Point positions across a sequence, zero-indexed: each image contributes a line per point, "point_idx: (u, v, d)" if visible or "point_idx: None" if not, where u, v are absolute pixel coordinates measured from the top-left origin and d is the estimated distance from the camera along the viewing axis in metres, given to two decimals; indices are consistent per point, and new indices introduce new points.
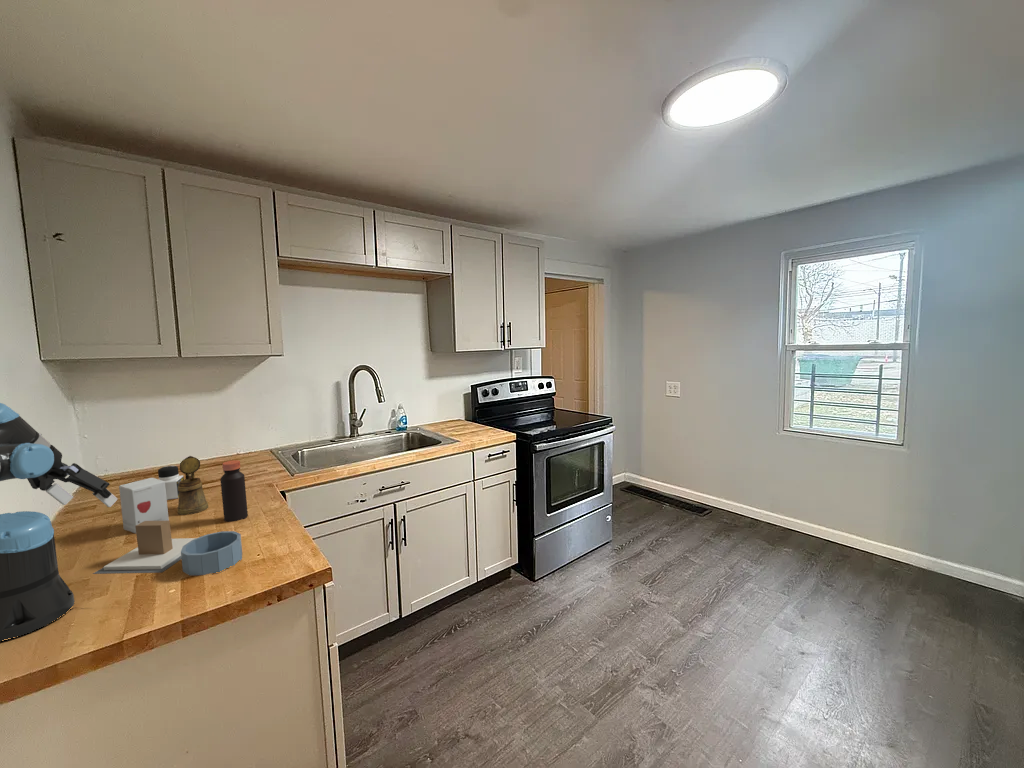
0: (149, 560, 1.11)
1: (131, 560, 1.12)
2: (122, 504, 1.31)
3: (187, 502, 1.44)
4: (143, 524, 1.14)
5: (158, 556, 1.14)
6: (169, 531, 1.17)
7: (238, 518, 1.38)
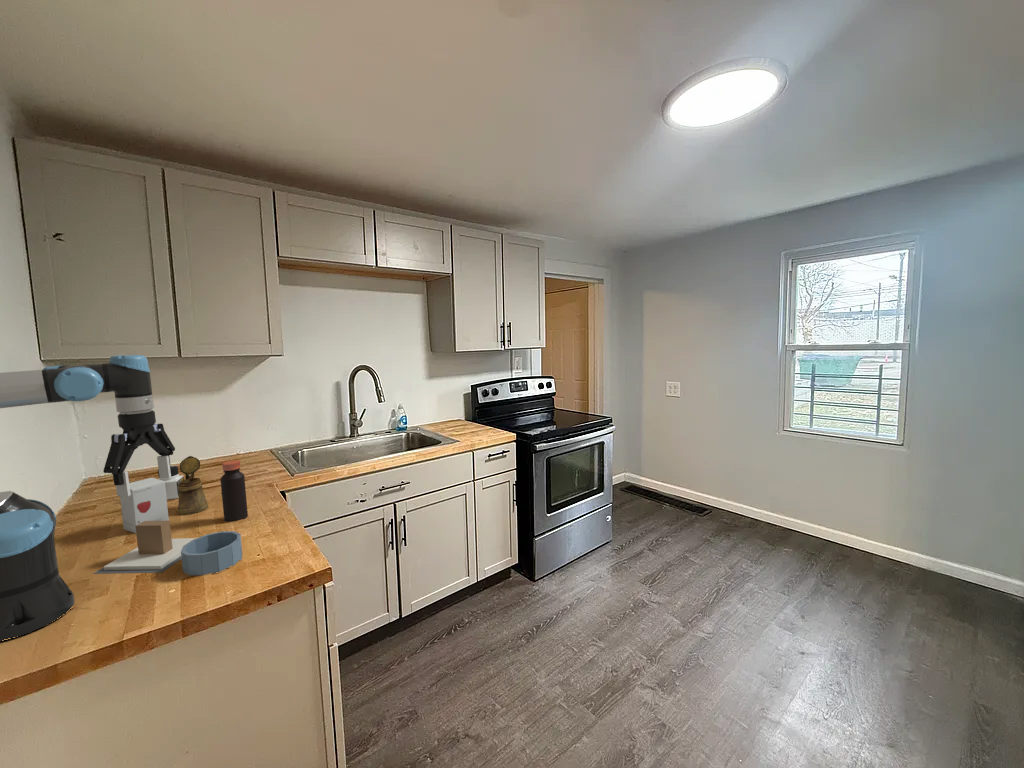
0: (149, 560, 1.11)
1: (131, 560, 1.12)
2: (122, 504, 1.31)
3: (187, 502, 1.44)
4: (143, 524, 1.14)
5: (158, 556, 1.14)
6: (169, 531, 1.17)
7: (238, 518, 1.38)
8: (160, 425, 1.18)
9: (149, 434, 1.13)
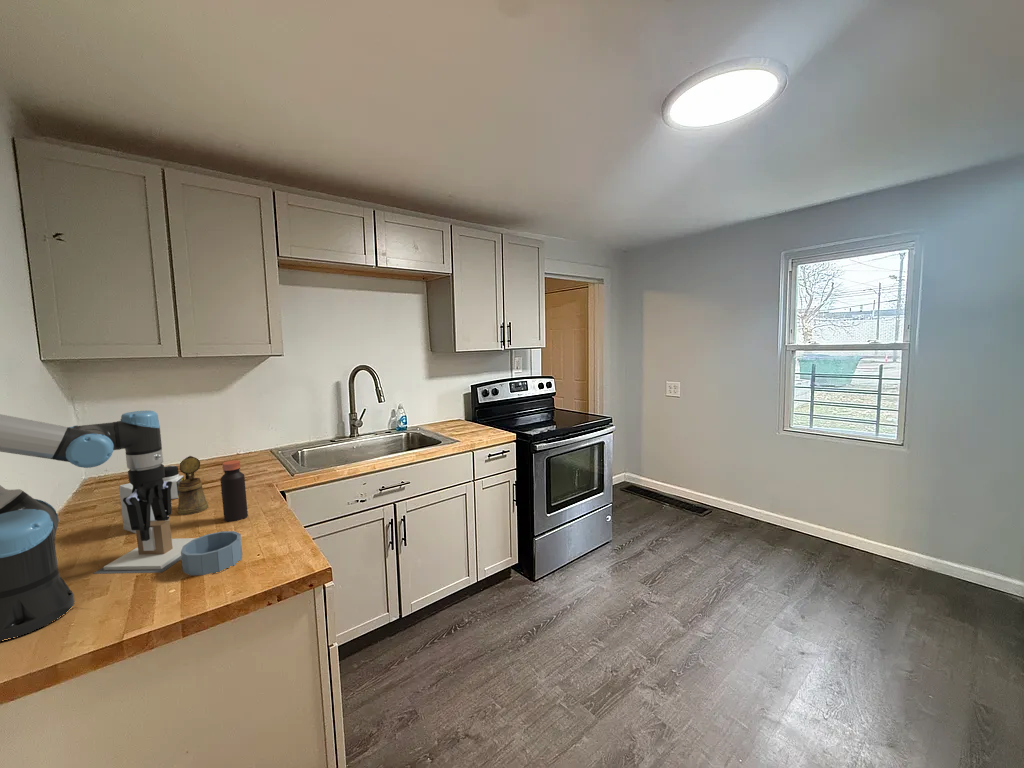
0: (149, 560, 1.11)
1: (131, 560, 1.12)
2: (122, 504, 1.31)
3: (187, 502, 1.44)
4: None
5: (158, 556, 1.14)
6: (169, 531, 1.17)
7: (238, 518, 1.38)
8: (169, 482, 1.20)
9: (158, 487, 1.15)
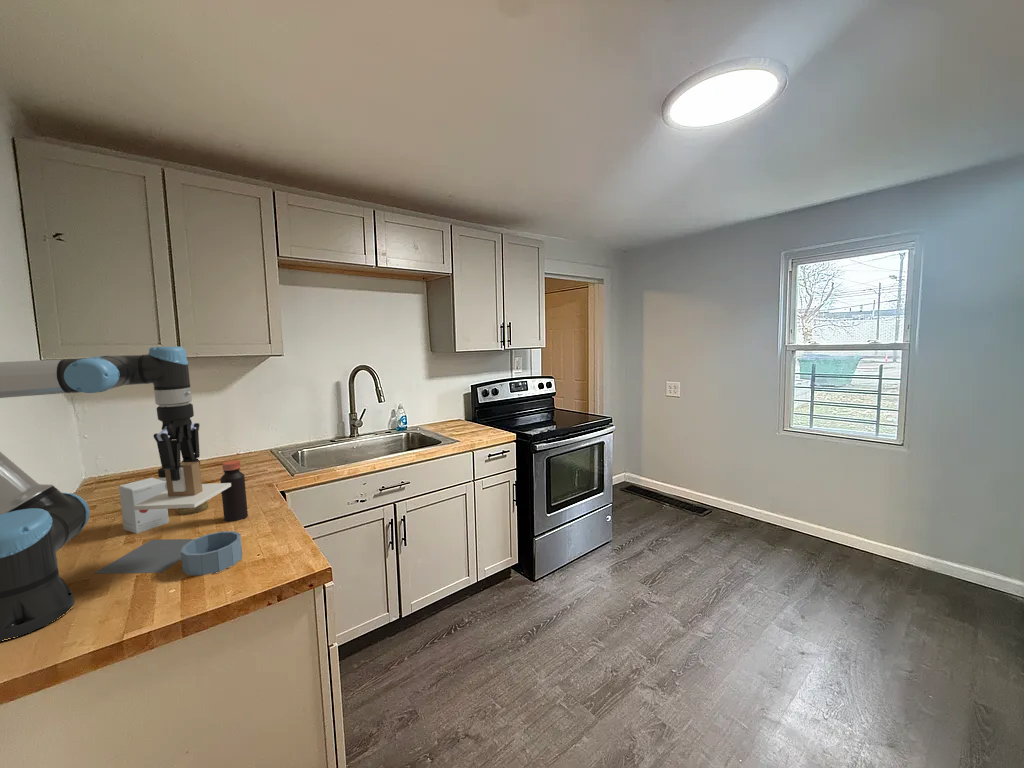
0: (181, 500, 1.08)
1: (161, 500, 1.08)
2: (122, 504, 1.31)
3: None
4: None
5: (189, 497, 1.10)
6: (199, 473, 1.13)
7: (238, 518, 1.38)
8: (197, 424, 1.16)
9: (187, 427, 1.11)
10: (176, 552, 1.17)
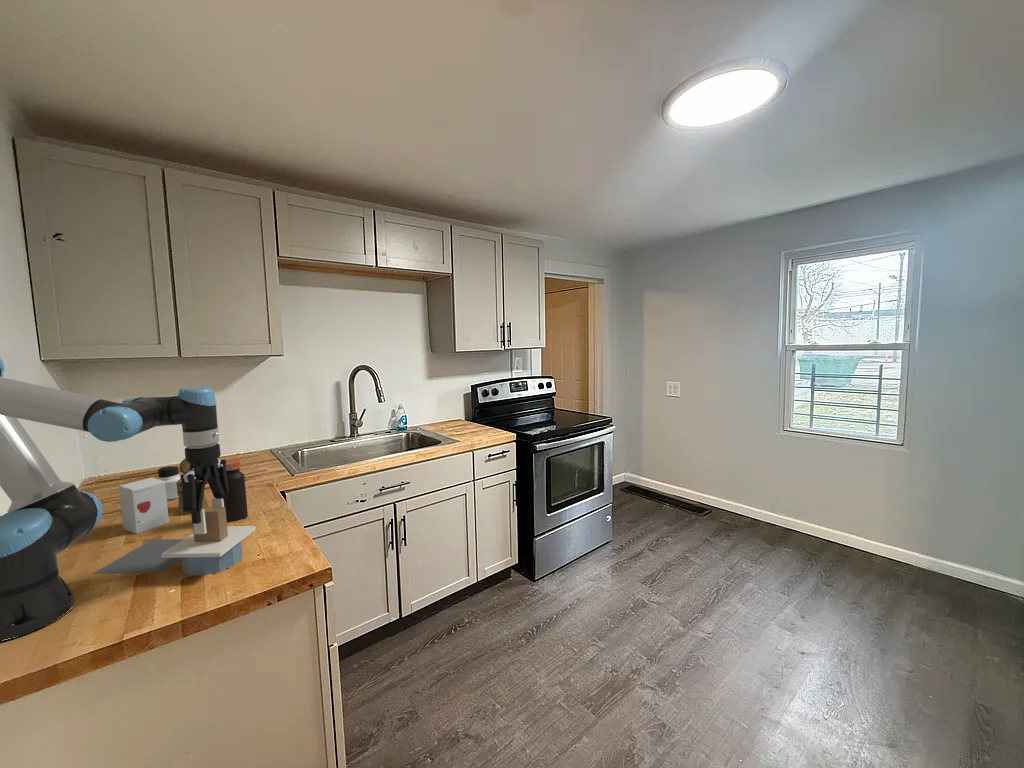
0: (207, 547, 1.07)
1: (188, 547, 1.07)
2: (122, 504, 1.31)
3: None
4: None
5: (215, 543, 1.09)
6: (225, 518, 1.12)
7: (238, 518, 1.38)
8: (223, 461, 1.15)
9: (214, 467, 1.10)
10: None
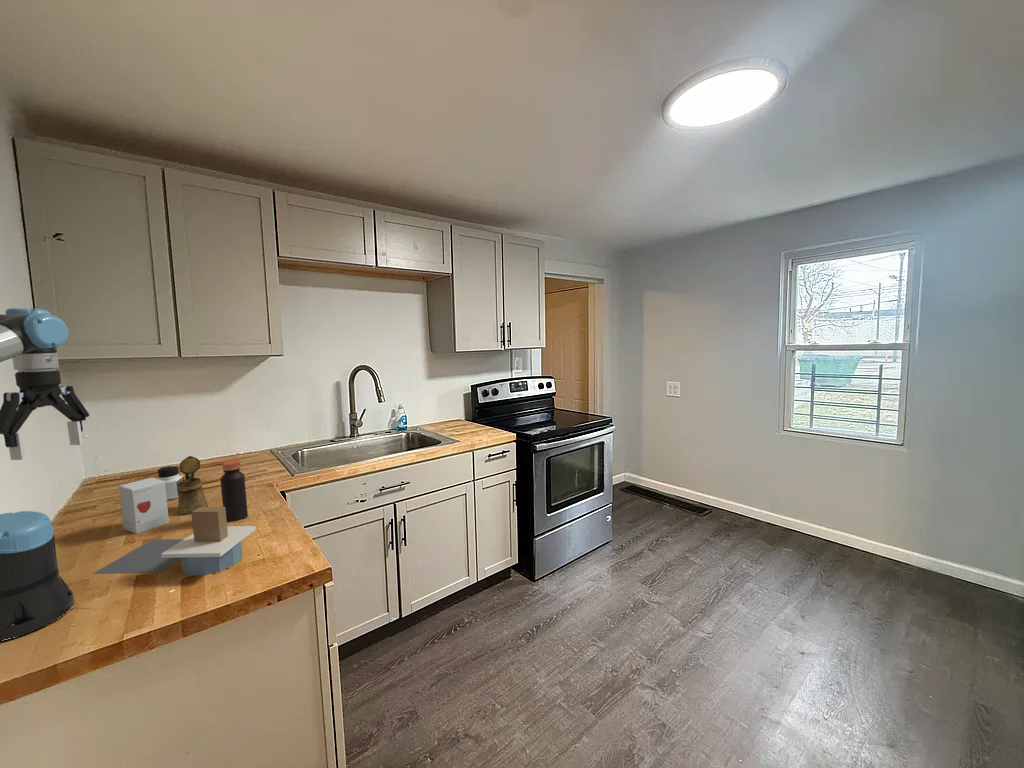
0: (207, 547, 1.07)
1: (188, 547, 1.07)
2: (122, 504, 1.31)
3: (187, 502, 1.44)
4: (199, 510, 1.10)
5: (215, 543, 1.09)
6: (225, 518, 1.12)
7: (238, 518, 1.38)
8: (69, 387, 1.10)
9: (53, 395, 1.06)
10: None
